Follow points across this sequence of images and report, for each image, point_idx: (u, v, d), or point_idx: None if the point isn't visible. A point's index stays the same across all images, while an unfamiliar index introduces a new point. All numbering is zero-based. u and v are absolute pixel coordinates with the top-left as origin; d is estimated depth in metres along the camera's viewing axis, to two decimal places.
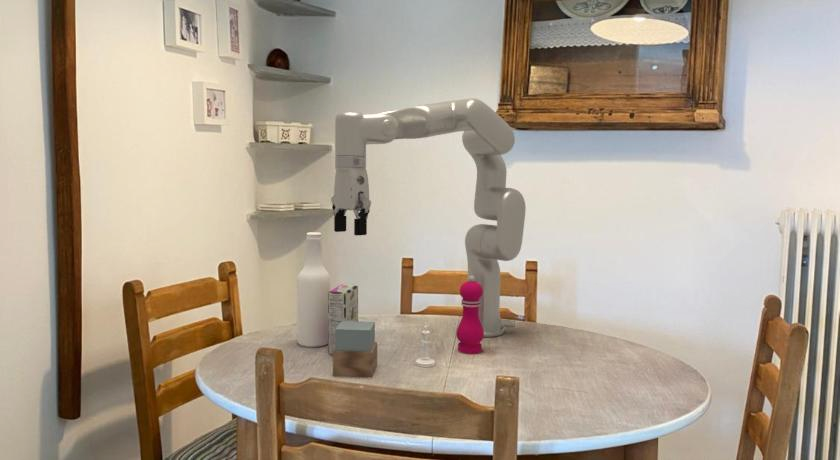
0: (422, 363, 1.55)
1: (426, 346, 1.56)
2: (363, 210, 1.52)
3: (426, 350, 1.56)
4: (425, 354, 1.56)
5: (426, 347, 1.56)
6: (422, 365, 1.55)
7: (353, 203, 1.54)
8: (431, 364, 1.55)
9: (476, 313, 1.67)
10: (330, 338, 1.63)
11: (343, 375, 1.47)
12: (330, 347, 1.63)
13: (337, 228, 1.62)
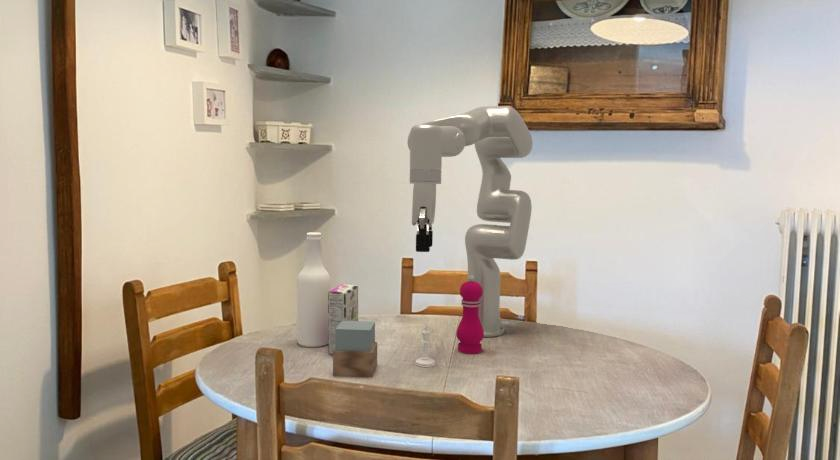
0: (422, 363, 1.55)
1: (426, 346, 1.56)
2: None
3: (426, 350, 1.56)
4: (425, 354, 1.56)
5: (426, 347, 1.56)
6: (422, 365, 1.55)
7: None
8: (431, 364, 1.55)
9: (476, 313, 1.67)
10: (330, 338, 1.63)
11: (343, 375, 1.47)
12: (330, 347, 1.63)
13: None
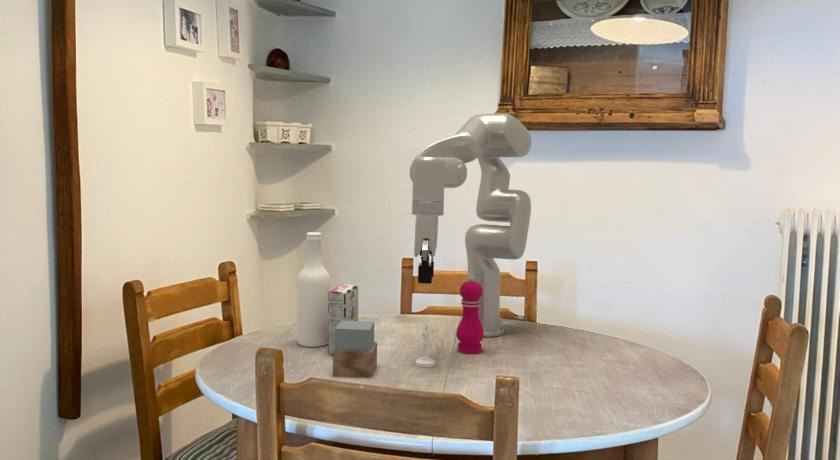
0: (422, 363, 1.55)
1: (426, 346, 1.56)
2: None
3: (426, 350, 1.56)
4: (425, 354, 1.56)
5: (426, 347, 1.56)
6: (422, 365, 1.55)
7: None
8: (431, 364, 1.55)
9: (476, 313, 1.67)
10: (330, 338, 1.63)
11: (343, 375, 1.47)
12: (330, 347, 1.63)
13: None
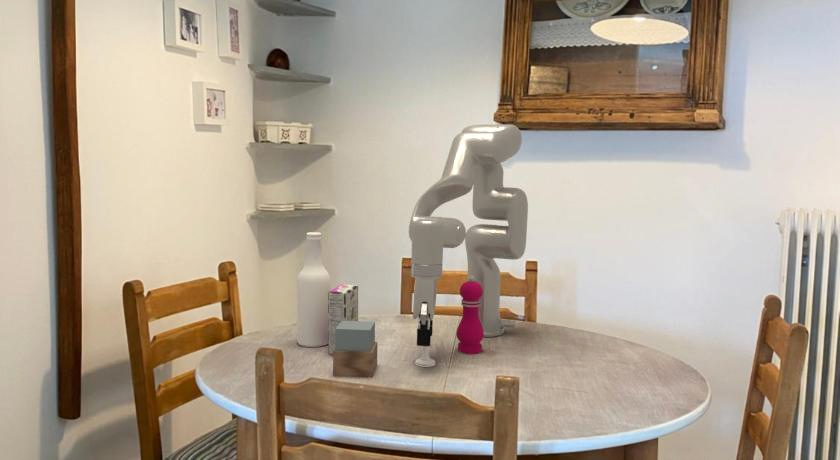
0: (422, 363, 1.55)
1: (426, 346, 1.56)
2: None
3: (426, 350, 1.56)
4: (425, 354, 1.56)
5: (426, 347, 1.56)
6: (422, 365, 1.55)
7: None
8: (431, 364, 1.55)
9: (476, 313, 1.67)
10: (330, 338, 1.63)
11: (343, 375, 1.47)
12: (330, 347, 1.63)
13: None
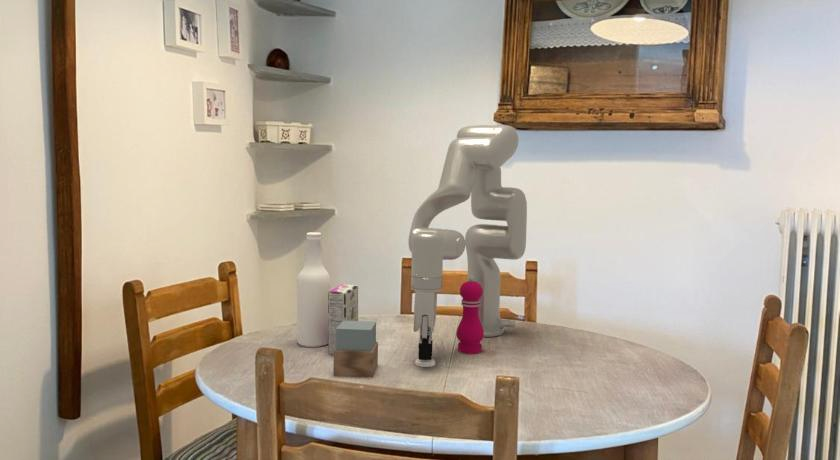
0: (422, 363, 1.55)
1: None
2: None
3: None
4: None
5: None
6: (422, 365, 1.55)
7: None
8: (431, 364, 1.55)
9: (476, 313, 1.67)
10: (330, 338, 1.63)
11: (344, 375, 1.47)
12: (330, 347, 1.63)
13: None
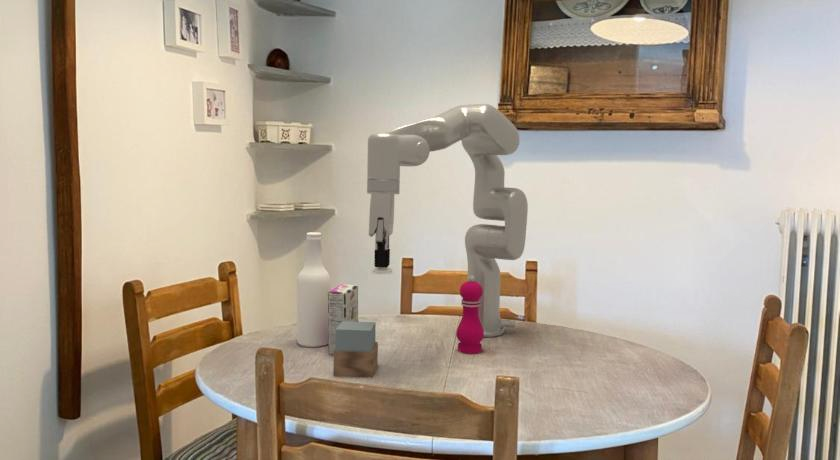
0: (378, 270, 1.49)
1: None
2: None
3: None
4: None
5: None
6: (378, 272, 1.49)
7: None
8: (388, 271, 1.49)
9: (476, 313, 1.67)
10: (330, 338, 1.63)
11: (344, 375, 1.47)
12: (330, 347, 1.63)
13: None
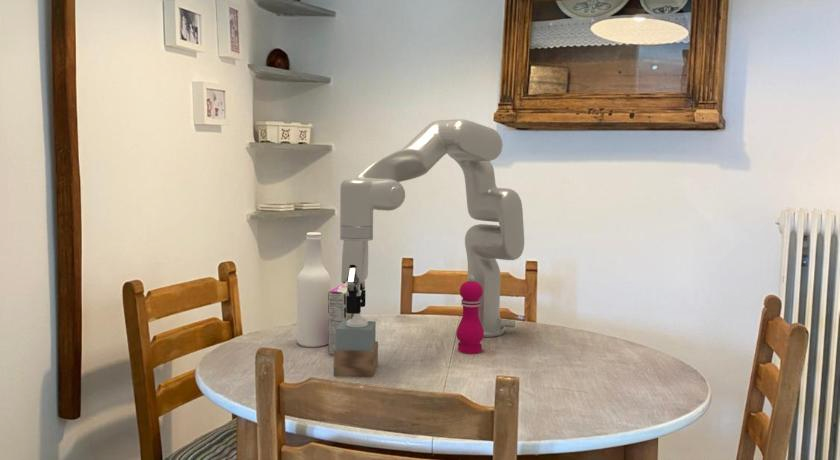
0: (353, 323, 1.48)
1: None
2: None
3: None
4: (356, 314, 1.50)
5: None
6: (353, 325, 1.48)
7: None
8: (363, 324, 1.49)
9: (476, 313, 1.67)
10: (330, 338, 1.63)
11: (344, 375, 1.47)
12: (330, 347, 1.63)
13: None
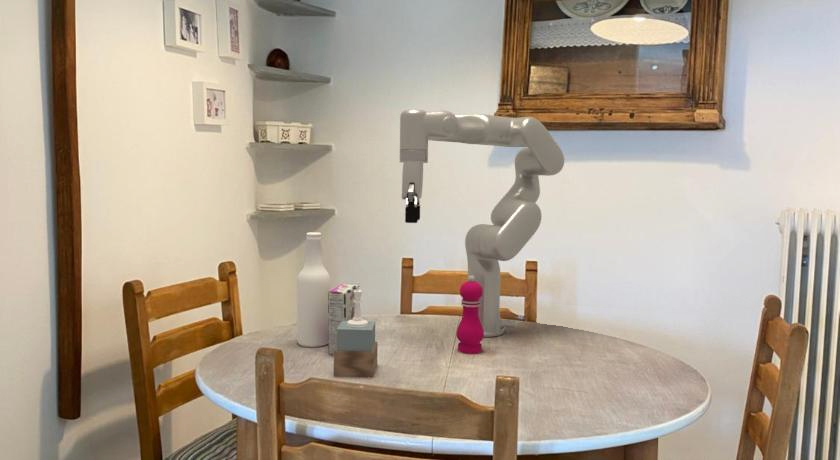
0: (353, 323, 1.48)
1: (358, 306, 1.50)
2: None
3: (358, 310, 1.50)
4: (357, 314, 1.49)
5: (358, 307, 1.50)
6: (353, 325, 1.48)
7: None
8: (363, 324, 1.49)
9: (476, 313, 1.67)
10: (330, 338, 1.63)
11: (344, 375, 1.47)
12: (330, 347, 1.63)
13: None
